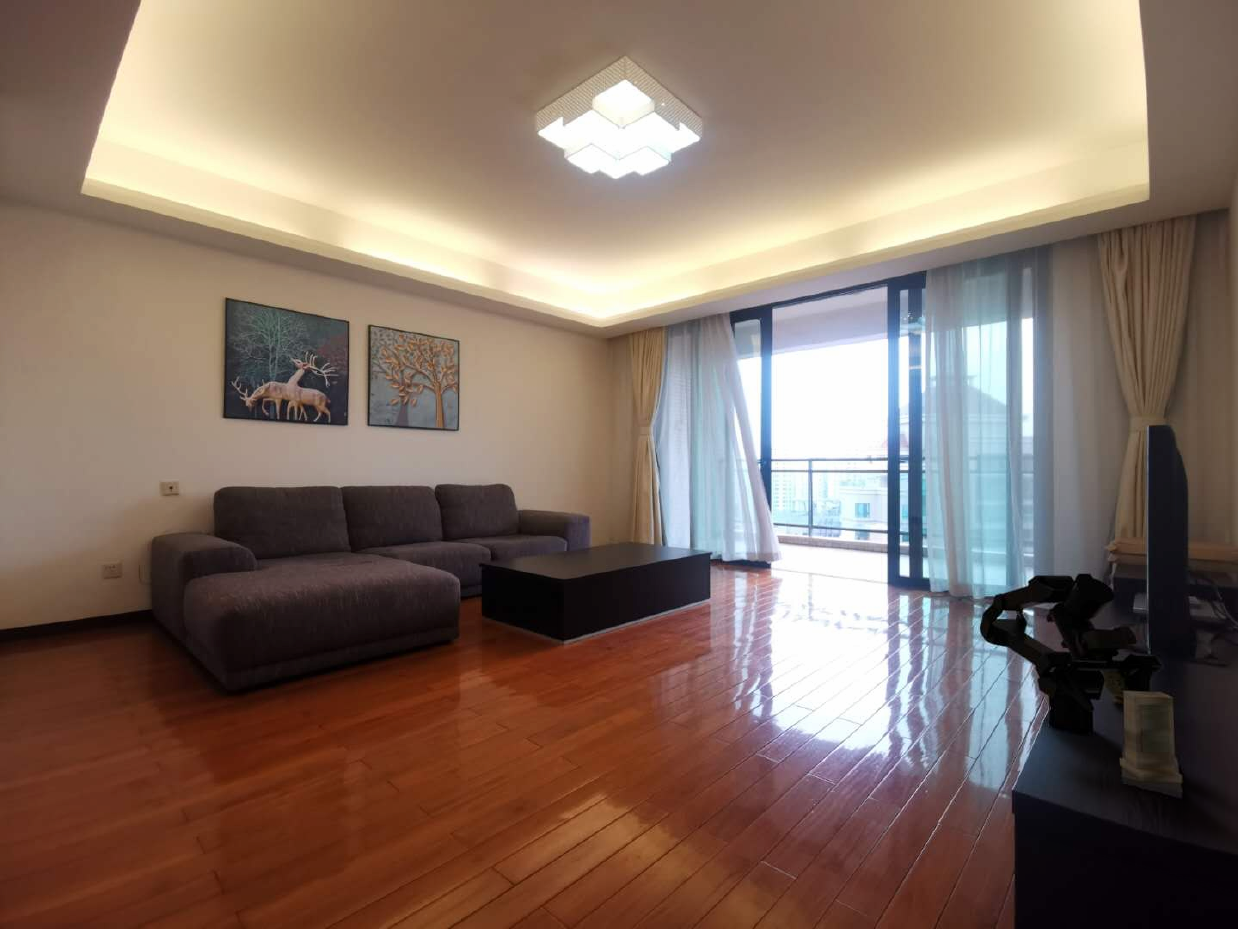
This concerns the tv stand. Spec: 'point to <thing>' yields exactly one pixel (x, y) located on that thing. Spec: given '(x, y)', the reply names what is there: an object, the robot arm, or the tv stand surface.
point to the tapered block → (1149, 736)
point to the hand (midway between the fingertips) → (1121, 712)
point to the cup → (1115, 685)
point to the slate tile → (1160, 786)
